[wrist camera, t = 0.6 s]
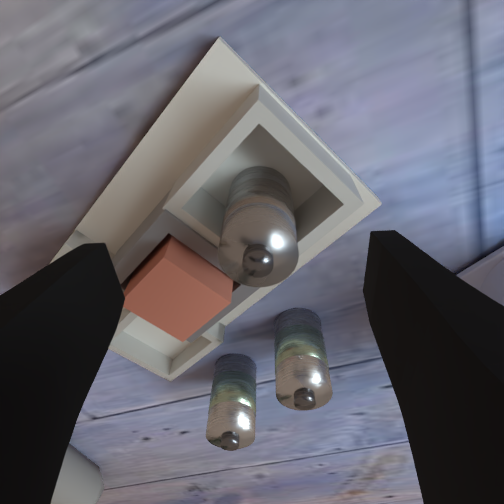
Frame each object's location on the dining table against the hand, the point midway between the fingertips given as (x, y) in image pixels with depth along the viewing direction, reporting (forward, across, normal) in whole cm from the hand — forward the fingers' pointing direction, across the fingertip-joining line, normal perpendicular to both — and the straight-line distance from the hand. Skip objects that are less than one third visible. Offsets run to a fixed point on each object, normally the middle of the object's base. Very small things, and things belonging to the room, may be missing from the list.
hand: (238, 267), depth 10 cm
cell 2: (+10, -2, +13) cm, 16 cm away
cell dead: (+9, 0, +2) cm, 9 cm away
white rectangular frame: (+10, +4, +5) cm, 12 cm away
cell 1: (+10, +2, +17) cm, 20 cm away
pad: (+8, +4, +5) cm, 10 cm away
